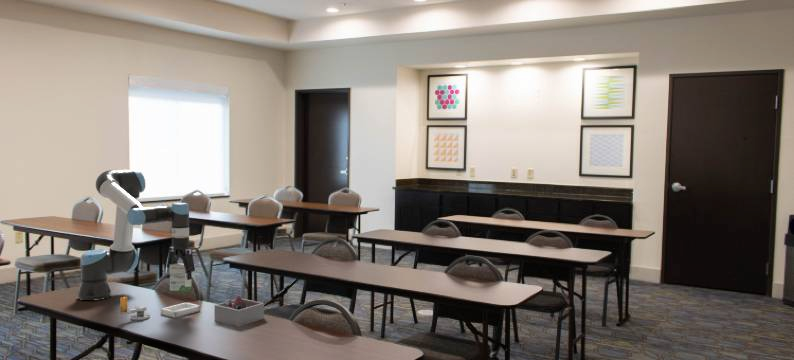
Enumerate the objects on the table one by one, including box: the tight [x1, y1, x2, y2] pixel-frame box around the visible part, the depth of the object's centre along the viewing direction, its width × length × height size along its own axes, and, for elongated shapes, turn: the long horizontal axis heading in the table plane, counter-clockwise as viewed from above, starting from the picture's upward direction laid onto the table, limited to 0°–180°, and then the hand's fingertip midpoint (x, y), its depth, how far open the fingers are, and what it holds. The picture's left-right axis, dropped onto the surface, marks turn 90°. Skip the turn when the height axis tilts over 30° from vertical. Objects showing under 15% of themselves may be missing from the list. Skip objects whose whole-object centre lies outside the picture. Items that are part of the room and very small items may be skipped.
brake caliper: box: [225, 294, 247, 310], centre depth 274 cm, size 11×11×12 cm
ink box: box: [169, 262, 193, 292], centre depth 282 cm, size 9×5×12 cm, turn 84°
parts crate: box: [214, 298, 265, 328], centre depth 274 cm, size 15×15×7 cm
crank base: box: [130, 311, 151, 321], centre depth 274 cm, size 8×8×3 cm
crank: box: [119, 295, 148, 316], centre depth 270 cm, size 12×5×8 cm, turn 147°
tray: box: [160, 301, 201, 319], centre depth 283 cm, size 10×14×2 cm
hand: (180, 284), depth 283 cm, fingers closed on ink box, 9 cm apart
